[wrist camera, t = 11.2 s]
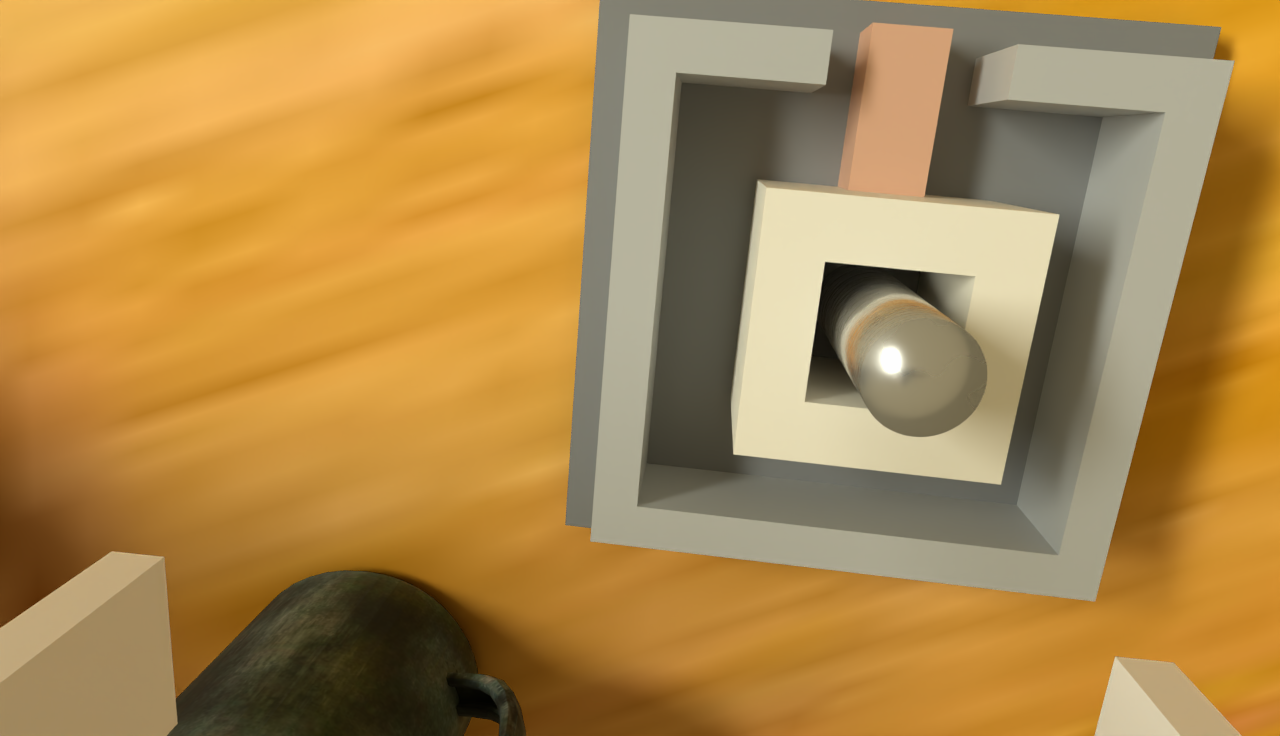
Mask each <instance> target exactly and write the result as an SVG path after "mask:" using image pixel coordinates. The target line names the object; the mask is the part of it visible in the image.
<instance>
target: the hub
mask: <svg viewBox="0 0 1280 736" xmlns="http://www.w3.org/2000/svg"><path fill="white" fill-rule="evenodd" d="M952 35H953V29H949V28H937V27H924V26H911V25H899V24H886V23H872V24H871V25H869V26H868V27H867V28H866V29H864V30H863V31H862V32H861V33H860V37H859V44H858V50H857V57H856V64H855V71H854V78H853V85H852V92H851V98H850V105H849V112H848V119H847V126H846V133H845V139H844V146H843V153H842V160H841V167H840V174H839V180H838V187H836V186H825V185H814V184H803V183H792V182H782V181H771V180H760V179H757V182H756V190H755V198H754V206H753V215H752V223H751V231H750V240H749V248H748V256H747V264H746V273H745V281H744V289H743V298H742V306H741V314H740V322H739V331H738V339H737V347H736V356H735V364H734V372H733V380H732V389H731V417H732V437H733V454H735V455H744V456H752V457H761V458H770V459H779V460H788V461H797V462H805V463H814V464H823V465H832V466H841V467H849V468H858V469H867V470H876V471H885V472H894V473H902V474H911V475H920V476H929V477H938V478H947V479H955V480H964V481H973V482H982V483H991V484H999V485H1001V481H1002V477H1003V472H1004V468H1005V463H1006V458H1007V454H1008V449H1009V445H1010V440H1011V436H1012V431H1013V426H1014V422H1015V417H1016V413H1017V408H1018V403H1019V399H1020V394H1021V390H1022V385H1023V380H1024V376H1025V371H1026V367H1027V362H1028V357H1029V353H1030V348H1031V344H1032V339H1033V334H1034V330H1035V325H1036V321H1037V316H1038V312H1039V307H1040V302H1041V298H1042V293H1043V289H1044V284H1045V279H1046V275H1047V270H1048V266H1049V261H1050V256H1051V252H1052V247H1053V243H1054V238H1055V233H1056V229H1057V224H1058V220H1059V214H1054V213H1049V212H1044V211H1039V210H1034V209H1029V208H1024V207H1019V206H1014V205H1009V204H1004V203H999V202H994V201H989V200H978V199H967V198H956V197H945V196H934V195H925V190H926V184H927V179H928V173H929V167H930V161H931V156H932V150H933V144H934V138H935V133H936V127H937V121H938V115H939V110H940V104H941V98H942V92H943V87H944V81H945V75H946V69H947V64H948V58H949V52H950V46H951V41H952ZM825 262H833V263H843V264H853V265H864V266H874V267H884V268H894V269H905V270H915V271H921V272H920V278H919V284H918V289H917V295H919V296H920V297H921V298H923V299H924V300H925V301H927V302H928V303H929V304H931V305H932V306H933V307H935V308H936V309H937V310H939V311H940V312H941V313H943V314H944V315H945V316H947V317H948V318H950V319H951V320H952V321H954V322H955V323H956V324H958V325H959V326H960V327H962V328H963V329H964V330H966V331H967V332H968V333H969V334H970V335H971V336H972V337H973V338H974V339H975V340H976V341H977V343H978V344H979V346H980V347H981V349H982V352H983V354H984V356H985V360H986V364H987V385H986V389H985V392H984V395H983V397H982V400H981V402H980V403H979V405H978V407H977V408H976V409H975V411H974V412H973V413H972V414H971V415H970V416H969V417H968V418H967V419H966V420H965V421H964V422H963V423H961V424H960V425H959V426H957V427H955V428H954V429H952V430H949V431H947V432H945V433H942V434H939V435H935V436H930V437H911V436H905V435H902V434H899V433H896V432H894V431H892V430H890V429H888V428H886V427H885V426H883V425H882V424H881V423H880V422H878V421H877V420H876V419H875V418H874V417H873V415H872V414H871V413H870V411H869V410H868V408H867V406H866V405H865V403H864V401H863V399H862V398H861V396H860V394H859V392H858V391H857V389H856V387H855V385H854V384H853V382H852V380H851V378H850V377H849V375H848V373H847V371H846V370H845V368H844V366H843V364H842V363H841V361H840V359H835V358H826V357H816V356H811V354H812V348H813V341H814V334H815V327H816V320H817V313H818V306H819V300H820V293H821V286H822V279H823V272H824V265H825Z"/></svg>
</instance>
